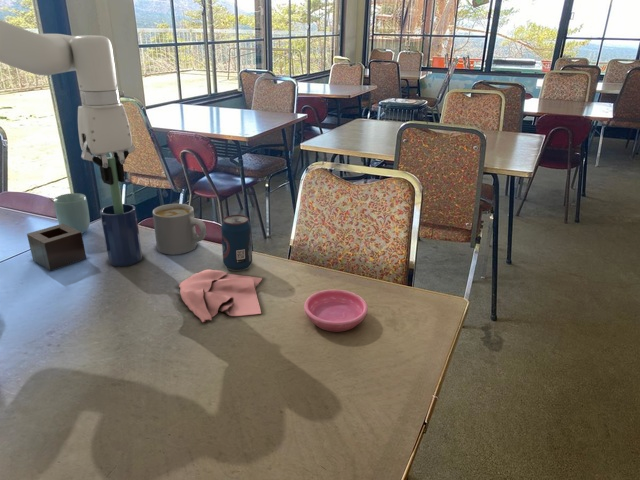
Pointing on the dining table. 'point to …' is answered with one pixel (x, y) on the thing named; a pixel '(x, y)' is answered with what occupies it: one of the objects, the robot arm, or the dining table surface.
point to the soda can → (236, 242)
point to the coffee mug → (176, 228)
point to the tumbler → (121, 235)
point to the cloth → (220, 294)
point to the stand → (56, 246)
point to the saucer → (335, 310)
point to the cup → (72, 211)
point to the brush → (115, 187)
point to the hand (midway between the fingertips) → (114, 181)
